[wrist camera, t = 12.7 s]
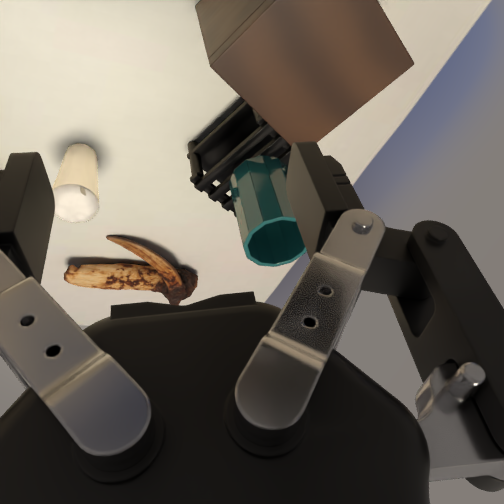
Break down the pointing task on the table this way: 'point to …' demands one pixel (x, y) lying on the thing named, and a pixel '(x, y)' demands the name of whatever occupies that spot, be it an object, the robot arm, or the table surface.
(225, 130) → the rack
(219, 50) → the shelf
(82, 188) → the milkshake
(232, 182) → the cup
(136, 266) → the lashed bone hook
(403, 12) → the table surface
